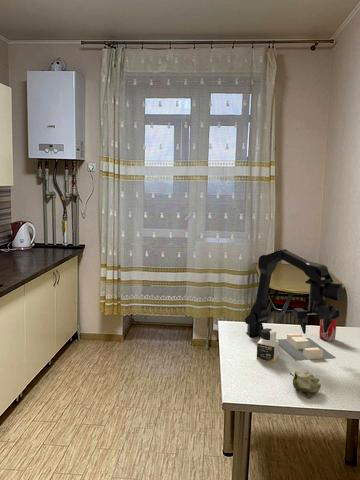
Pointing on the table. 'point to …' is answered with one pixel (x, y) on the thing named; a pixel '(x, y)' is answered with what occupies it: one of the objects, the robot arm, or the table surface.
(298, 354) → the mat
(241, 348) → the table surface
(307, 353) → the stub
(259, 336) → the robot arm
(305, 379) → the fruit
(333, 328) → the soda can
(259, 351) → the medicine bottle
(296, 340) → the ticket
